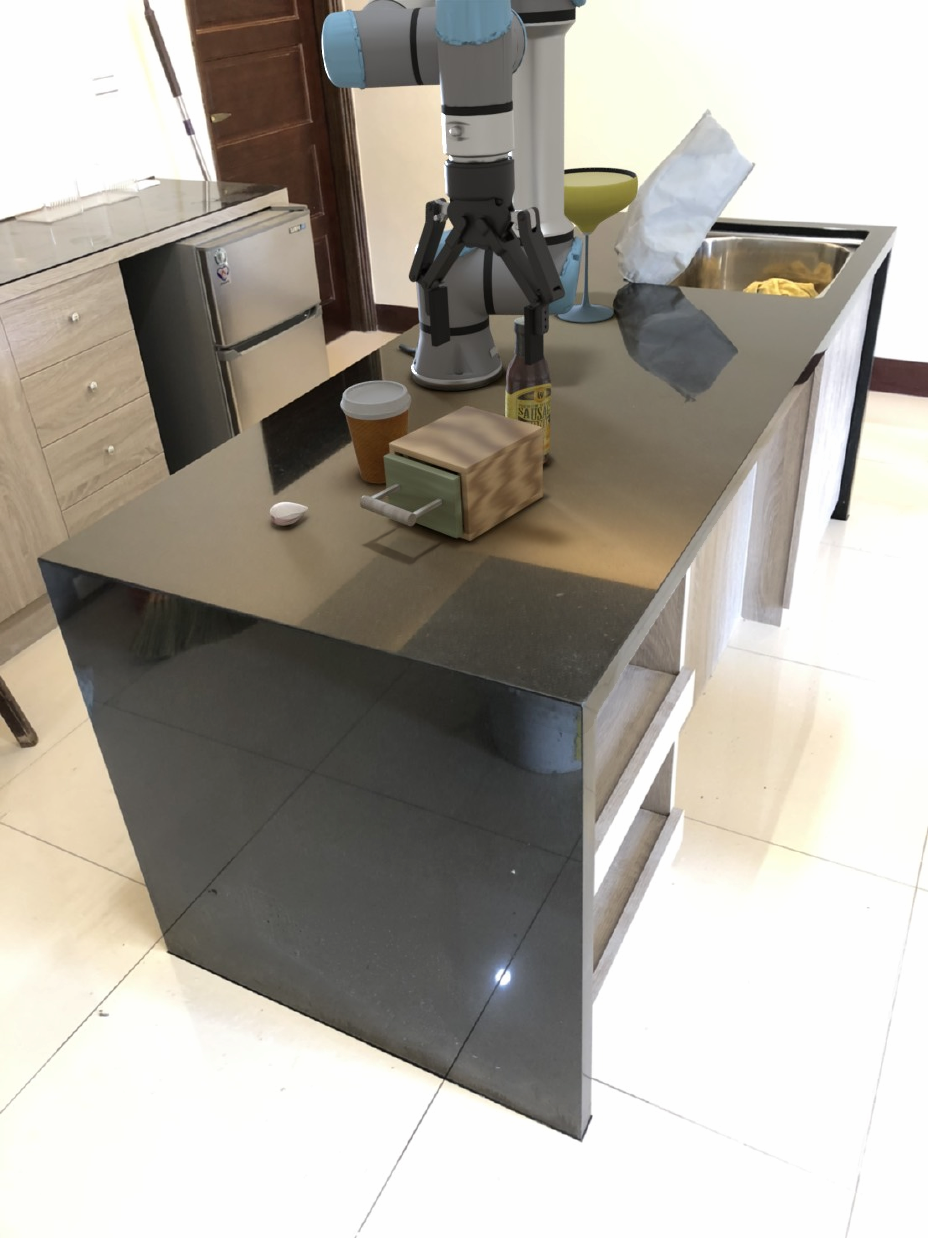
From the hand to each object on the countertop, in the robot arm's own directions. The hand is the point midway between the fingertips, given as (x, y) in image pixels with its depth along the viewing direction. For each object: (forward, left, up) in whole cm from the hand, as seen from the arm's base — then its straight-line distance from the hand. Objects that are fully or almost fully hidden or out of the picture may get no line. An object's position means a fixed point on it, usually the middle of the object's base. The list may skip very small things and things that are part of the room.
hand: (486, 352), depth 118 cm
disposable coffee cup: (-20, 0, -21) cm, 29 cm away
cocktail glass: (-38, +74, -21) cm, 85 cm away
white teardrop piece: (-20, -17, -21) cm, 34 cm away
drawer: (-4, -6, -20) cm, 21 cm away
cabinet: (-4, 0, -21) cm, 21 cm away
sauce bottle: (-6, +15, -21) cm, 26 cm away
